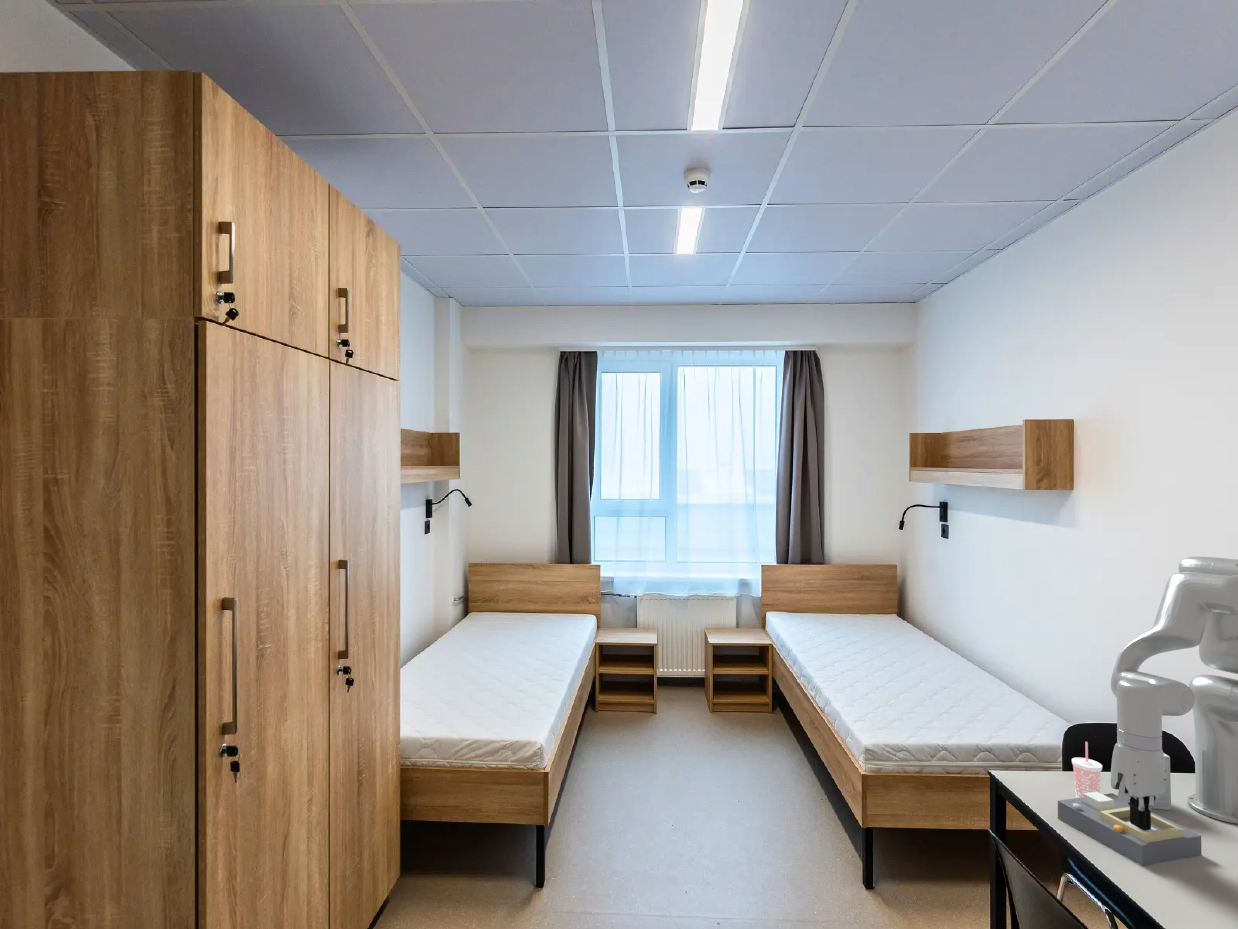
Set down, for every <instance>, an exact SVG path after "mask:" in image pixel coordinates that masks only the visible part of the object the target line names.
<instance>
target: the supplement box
mask: <svg viewBox="0 0 1238 929" xmlns="http://www.w3.org/2000/svg"><path fill="white" fill-rule="evenodd" d="M1163 754H1164V759H1165V767H1166V791H1165V792H1164V793H1162V796H1161V797H1159V798H1157V799H1155V801H1154V803H1153V809H1152V810H1154V809H1155V810H1164V811H1165V810H1166V811H1171V810H1172V793H1171V792H1172V790H1171V786H1172V785H1171V757H1170V756H1169V755H1168V754H1166V753H1165V752H1163ZM1135 799H1136V798H1135Z"/></svg>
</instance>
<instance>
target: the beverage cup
mask: <svg viewBox="0 0 1238 929" xmlns="http://www.w3.org/2000/svg"><path fill="white" fill-rule="evenodd" d="M1084 742H1085V746H1084V747H1085V757H1073V758H1071V764H1072V769H1073V776H1074V778H1073V779H1074V791H1075V792H1074V793H1075V798H1081V797H1083V793H1090V792H1099V793H1101V792H1100V790H1101V773H1102V771H1103V764H1101V763H1100V762H1098V761H1096V760H1093V759H1090V758H1089V748H1088V747H1089V743H1088V741H1084Z"/></svg>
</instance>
